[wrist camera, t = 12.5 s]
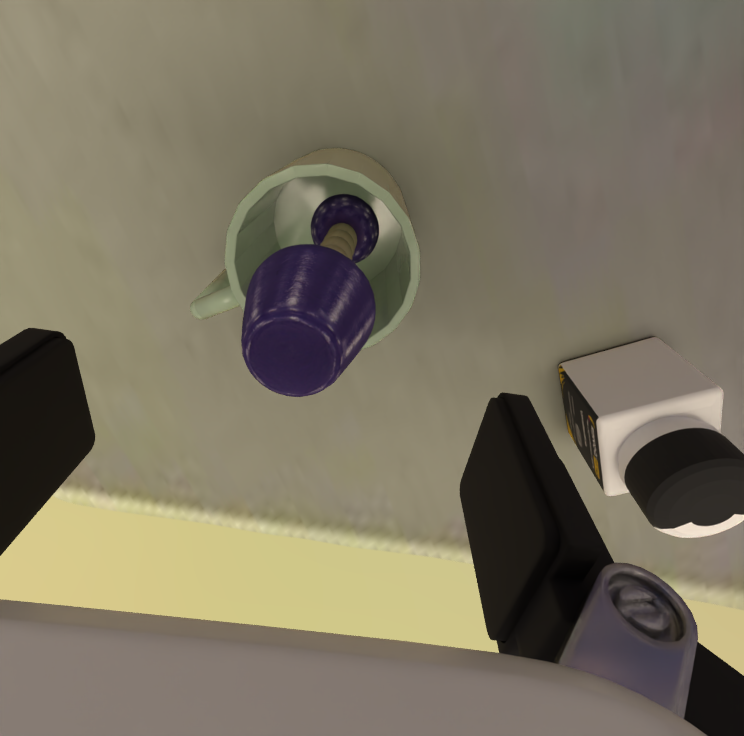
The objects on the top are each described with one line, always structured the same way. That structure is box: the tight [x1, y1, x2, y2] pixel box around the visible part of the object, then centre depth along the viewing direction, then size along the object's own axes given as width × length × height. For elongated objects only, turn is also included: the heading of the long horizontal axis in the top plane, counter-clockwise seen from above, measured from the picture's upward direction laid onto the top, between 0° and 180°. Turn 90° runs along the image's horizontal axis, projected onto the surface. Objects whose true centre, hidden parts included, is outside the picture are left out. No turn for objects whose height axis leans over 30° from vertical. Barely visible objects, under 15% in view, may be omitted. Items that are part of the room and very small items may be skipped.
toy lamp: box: [241, 194, 379, 397], centre depth 19 cm, size 5×5×17 cm
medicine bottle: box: [558, 337, 744, 538], centre depth 28 cm, size 7×7×12 cm
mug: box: [190, 148, 420, 350], centre depth 24 cm, size 12×9×9 cm
